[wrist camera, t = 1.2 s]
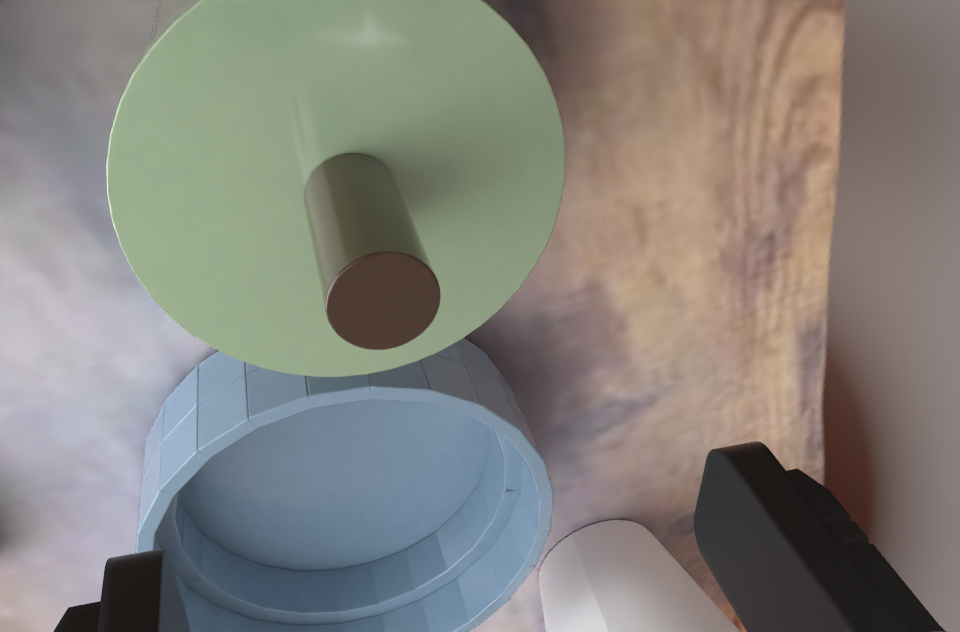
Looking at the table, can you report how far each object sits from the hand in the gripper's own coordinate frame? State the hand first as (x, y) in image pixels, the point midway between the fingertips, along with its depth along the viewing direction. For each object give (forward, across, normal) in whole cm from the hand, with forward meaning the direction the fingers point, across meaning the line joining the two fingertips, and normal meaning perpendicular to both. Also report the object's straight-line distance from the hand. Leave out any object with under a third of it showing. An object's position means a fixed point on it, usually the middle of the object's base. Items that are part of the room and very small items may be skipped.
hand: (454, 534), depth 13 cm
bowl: (+20, +1, +17) cm, 26 cm away
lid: (+12, 0, 0) cm, 12 cm away
